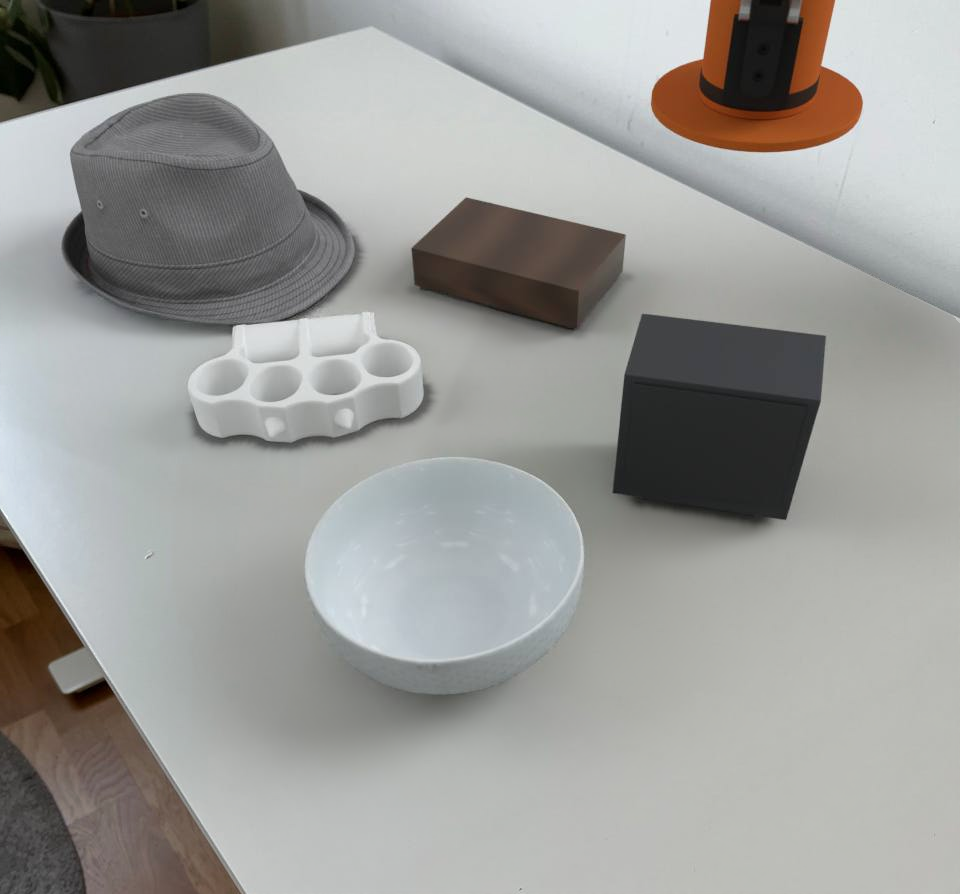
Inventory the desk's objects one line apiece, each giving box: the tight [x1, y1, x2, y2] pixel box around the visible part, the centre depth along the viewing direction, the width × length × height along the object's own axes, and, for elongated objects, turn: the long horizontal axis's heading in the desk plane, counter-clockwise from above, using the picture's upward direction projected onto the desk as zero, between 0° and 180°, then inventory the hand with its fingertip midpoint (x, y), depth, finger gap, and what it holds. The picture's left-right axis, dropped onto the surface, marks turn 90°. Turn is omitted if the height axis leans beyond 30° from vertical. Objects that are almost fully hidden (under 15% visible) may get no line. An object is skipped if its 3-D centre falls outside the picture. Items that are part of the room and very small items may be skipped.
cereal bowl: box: [303, 456, 586, 696], centre depth 61 cm, size 17×17×7 cm
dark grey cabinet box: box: [612, 313, 827, 521], centre depth 67 cm, size 7×12×11 cm, turn 75°
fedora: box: [60, 92, 356, 327], centre depth 88 cm, size 24×27×12 cm
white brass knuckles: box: [187, 311, 425, 444], centre depth 78 cm, size 3×18×15 cm
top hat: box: [650, 0, 864, 153], centre depth 50 cm, size 11×11×6 cm
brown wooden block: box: [411, 196, 627, 330], centre depth 87 cm, size 16×10×4 cm, turn 62°
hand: (759, 74), depth 52 cm, fingers closed on top hat, 6 cm apart
